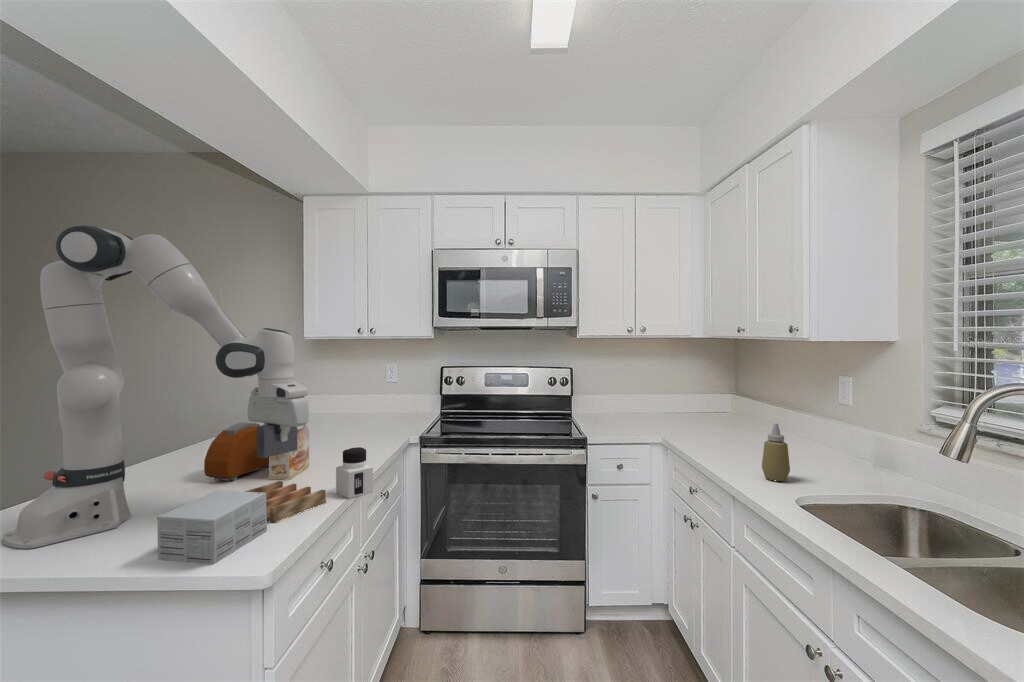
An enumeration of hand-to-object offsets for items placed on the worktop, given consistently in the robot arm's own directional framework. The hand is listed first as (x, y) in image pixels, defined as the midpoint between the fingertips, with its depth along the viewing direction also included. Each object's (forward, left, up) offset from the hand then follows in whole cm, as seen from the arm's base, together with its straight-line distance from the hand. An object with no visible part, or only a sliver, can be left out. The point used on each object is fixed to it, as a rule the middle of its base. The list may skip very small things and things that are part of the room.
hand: (277, 440), depth 130 cm
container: (+18, -10, -18) cm, 27 cm away
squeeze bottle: (+90, -120, -18) cm, 151 cm away
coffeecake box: (+23, +24, -18) cm, 38 cm away
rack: (0, 0, -18) cm, 18 cm away
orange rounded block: (+16, +38, -18) cm, 45 cm away
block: (0, 0, -4) cm, 4 cm away
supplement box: (-22, -9, -18) cm, 30 cm away
